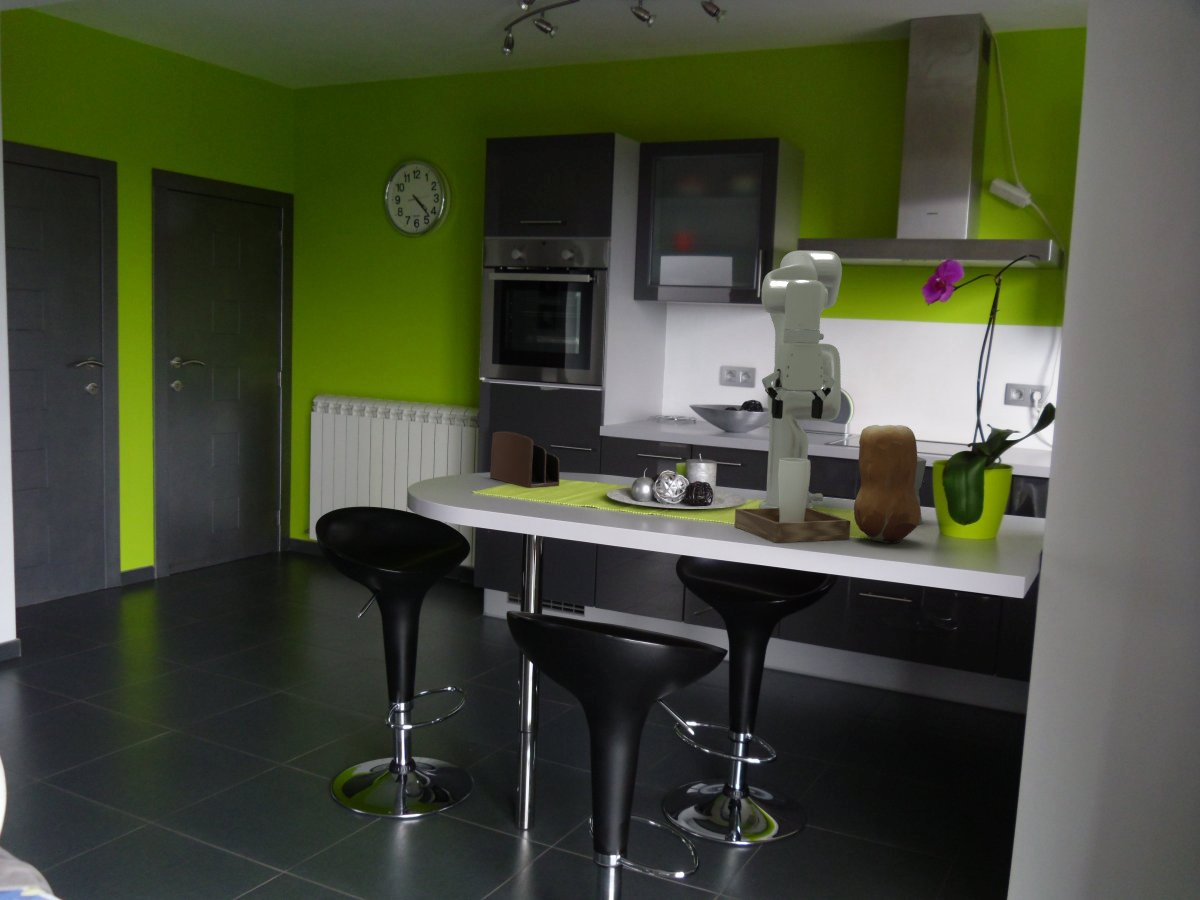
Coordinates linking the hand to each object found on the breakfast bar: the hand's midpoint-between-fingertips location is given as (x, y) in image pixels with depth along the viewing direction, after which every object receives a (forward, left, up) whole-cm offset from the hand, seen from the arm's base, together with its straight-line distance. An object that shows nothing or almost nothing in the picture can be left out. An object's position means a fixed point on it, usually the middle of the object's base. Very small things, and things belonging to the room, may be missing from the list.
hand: (796, 418), depth 233 cm
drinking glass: (0, 0, -24) cm, 24 cm away
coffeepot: (-33, -6, -25) cm, 42 cm away
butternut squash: (-15, +13, -25) cm, 32 cm away
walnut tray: (0, 0, -25) cm, 25 cm away
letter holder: (+36, -81, -26) cm, 92 cm away
